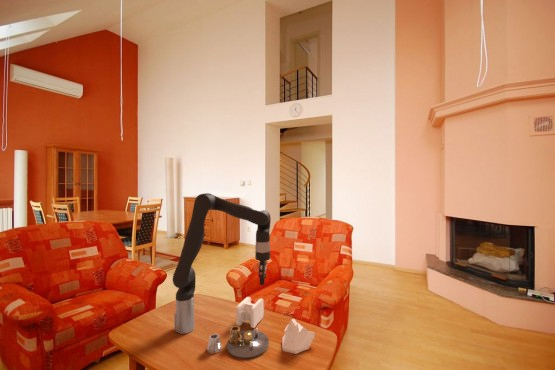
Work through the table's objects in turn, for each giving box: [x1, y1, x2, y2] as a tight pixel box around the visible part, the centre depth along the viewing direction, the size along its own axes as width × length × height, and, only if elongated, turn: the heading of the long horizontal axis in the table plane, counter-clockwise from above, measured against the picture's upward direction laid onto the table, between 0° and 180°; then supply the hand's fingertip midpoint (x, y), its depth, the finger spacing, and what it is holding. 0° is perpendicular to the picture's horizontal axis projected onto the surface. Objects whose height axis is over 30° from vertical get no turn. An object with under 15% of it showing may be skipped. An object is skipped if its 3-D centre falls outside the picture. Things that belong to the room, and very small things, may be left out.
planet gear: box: [206, 333, 223, 354], centre depth 123 cm, size 6×6×6 cm
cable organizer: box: [235, 296, 265, 329], centre depth 147 cm, size 15×11×12 cm
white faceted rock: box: [281, 318, 316, 355], centre depth 124 cm, size 12×15×14 cm
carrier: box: [226, 327, 270, 360], centre depth 126 cm, size 20×20×6 cm
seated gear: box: [228, 325, 242, 345], centre depth 127 cm, size 6×6×6 cm
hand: (262, 281), depth 133 cm, fingers open, 8 cm apart
